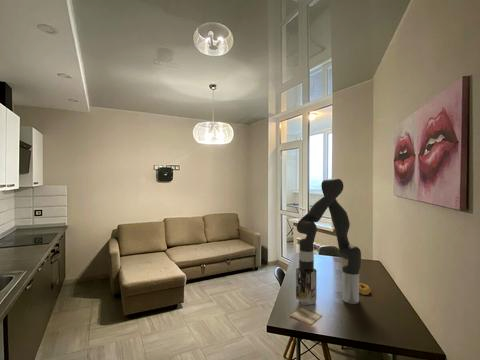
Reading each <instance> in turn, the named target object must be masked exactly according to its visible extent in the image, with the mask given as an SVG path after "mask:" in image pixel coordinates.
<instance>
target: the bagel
mask: <svg viewBox="0 0 480 360" xmlns="http://www.w3.org/2000/svg"><path fill="white" fill-rule="evenodd" d="M371 291H372V290H371V288H370V286H369V285H368V284H365V283H362V282H359V295H363V296H367V295H368V296H369V294H370V293H371Z"/></svg>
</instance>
